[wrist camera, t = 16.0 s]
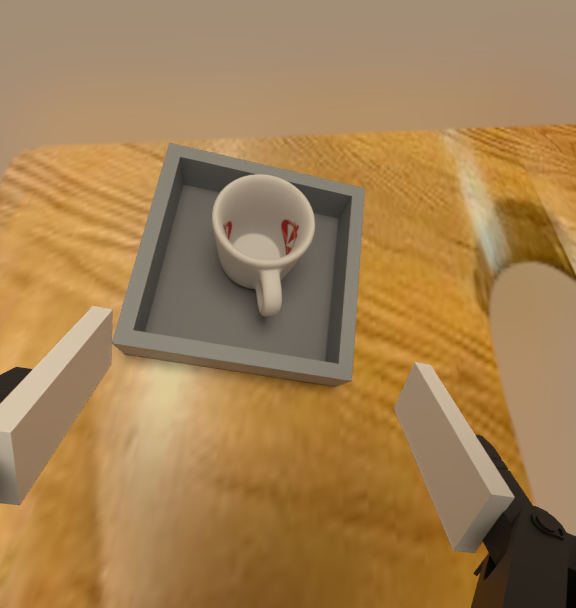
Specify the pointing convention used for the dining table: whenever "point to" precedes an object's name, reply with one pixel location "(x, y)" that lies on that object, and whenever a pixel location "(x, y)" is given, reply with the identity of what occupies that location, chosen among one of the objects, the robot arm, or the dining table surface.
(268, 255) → the cup
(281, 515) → the dining table surface
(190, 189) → the tray
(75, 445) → the dining table surface
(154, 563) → the dining table surface
